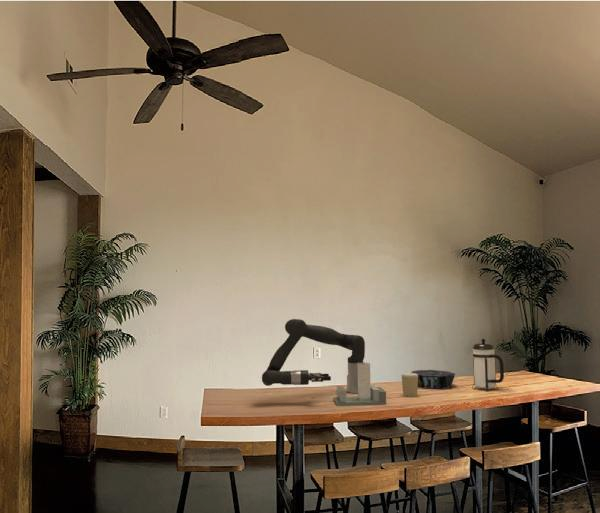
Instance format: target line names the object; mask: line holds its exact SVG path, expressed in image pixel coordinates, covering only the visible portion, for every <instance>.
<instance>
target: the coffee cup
mask: <svg viewBox="0 0 600 513" xmlns="http://www.w3.org/2000/svg"><path fill="white" fill-rule="evenodd" d="M400 376H401V385H402V395H403V397H407V398H416V397H418V387H419V386H418V374H415V373H411V372H405V373H403V372H402V373H401V375H400Z"/></svg>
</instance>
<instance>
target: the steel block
mask: <svg viewBox="0 0 600 513" xmlns="http://www.w3.org/2000/svg"><path fill="white" fill-rule="evenodd" d="M357 366H358V393H357V397H358V399H359V400H371V387H370V385H371V363H370V362H363V363H357Z"/></svg>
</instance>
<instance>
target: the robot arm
mask: <svg viewBox="0 0 600 513" xmlns="http://www.w3.org/2000/svg"><path fill="white" fill-rule="evenodd" d="M284 330H285V331H286V333H287V335H288V337H287V338H286V340H284V342H283V343H282V344H281V345H280V346H279V347H278V348H277V350H276V351H275V352H274V355H273V356H272V358H271V359H270V361H269V363H268V367H266V370H265V371H264V372H263V373H262V375H261V382H262V384H263V385H265V386H269V387H271V386H272V385H273V384H277V385H279V384H281V385H283V386H284V385H286V386H287V385H289V386H290V385H293V386H303V385H305V386H307V385H309V382H310V381H311V383H319V382H321V383H323V382H326V381H327V382H329V381H332V376H330V374H329V373H321V372H309V370H307V369H306V370H305V369H304V370H300V369H299V370H283V371H282V370H281V369H282V367H284V364H285V362H286V361H287V358H289V355H290V354H291V352H292V350H294V348H296V345H297V344H298V342H299V341H300V340H301V339H302V337H303V338H307V339H309V340H312V341H314V342H317V343H322V344H324V345H325V344H326V345H331V346H338V347H341V348H345V349H347V350H349V351H351V355H350V356H348V357H347V375H346V392H347V393H350V394H358V366H357V363H364V361H365V360H364V359H365V353H366V352H365V350H366V342H365V339H364V337H363V336H361V335H358V334H357V335H356V334H345V333H341V332H339V331H337V330H335V329H333V328H330V327H326V326H322V325H315V324H314V325H313V324H307V323H306V321H305V320H303V319H301V318H292V319H291V318H290V319H289V320H287V322H286V323H285V325H284Z"/></svg>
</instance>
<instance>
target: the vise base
mask: <svg viewBox="0 0 600 513" xmlns="http://www.w3.org/2000/svg"><path fill="white" fill-rule="evenodd" d="M370 387H371V400H359V399H358V396H346V402H340V401H339V399H338V398H337V396H333V398H332V401H333V402H334V403H336V404H335V406H337V407H339V406H341V407H342V406H344V407H346V406H376V405H377V406H378V405H379V406H381V405H383V406H384V405H385V404H386V405H387V391H386V390H385V389H384V388H382V387H381V386H376V385H371V384H370Z"/></svg>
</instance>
